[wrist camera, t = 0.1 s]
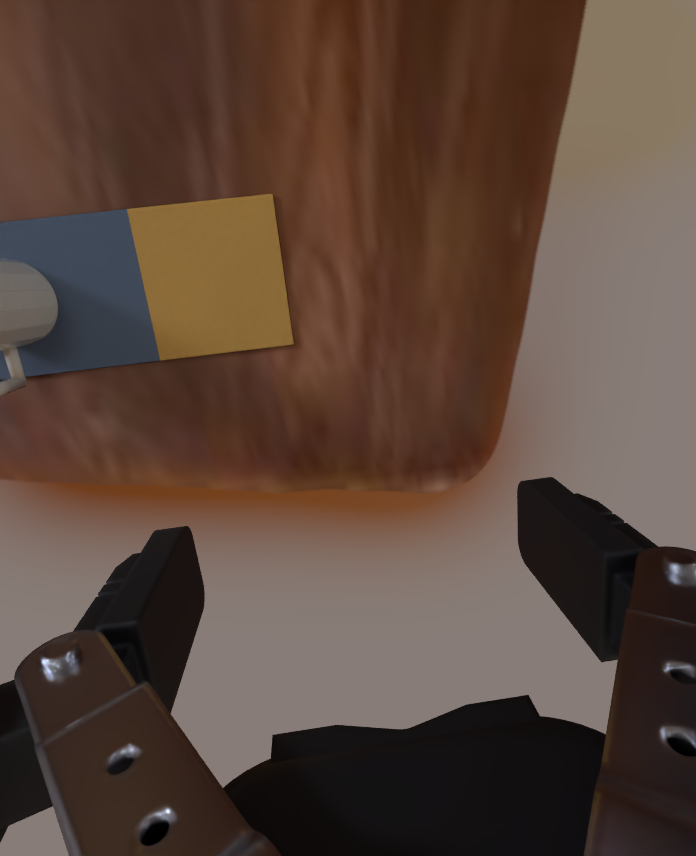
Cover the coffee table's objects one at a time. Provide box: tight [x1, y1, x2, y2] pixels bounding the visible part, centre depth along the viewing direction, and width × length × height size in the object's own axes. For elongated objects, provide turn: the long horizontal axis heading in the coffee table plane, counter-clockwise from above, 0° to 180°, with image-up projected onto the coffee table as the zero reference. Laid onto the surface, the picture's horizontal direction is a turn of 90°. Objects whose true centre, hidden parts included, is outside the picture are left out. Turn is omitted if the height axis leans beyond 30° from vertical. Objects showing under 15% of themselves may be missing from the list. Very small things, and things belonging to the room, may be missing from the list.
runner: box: [0, 194, 294, 380], centre depth 37 cm, size 11×25×1 cm, turn 96°
